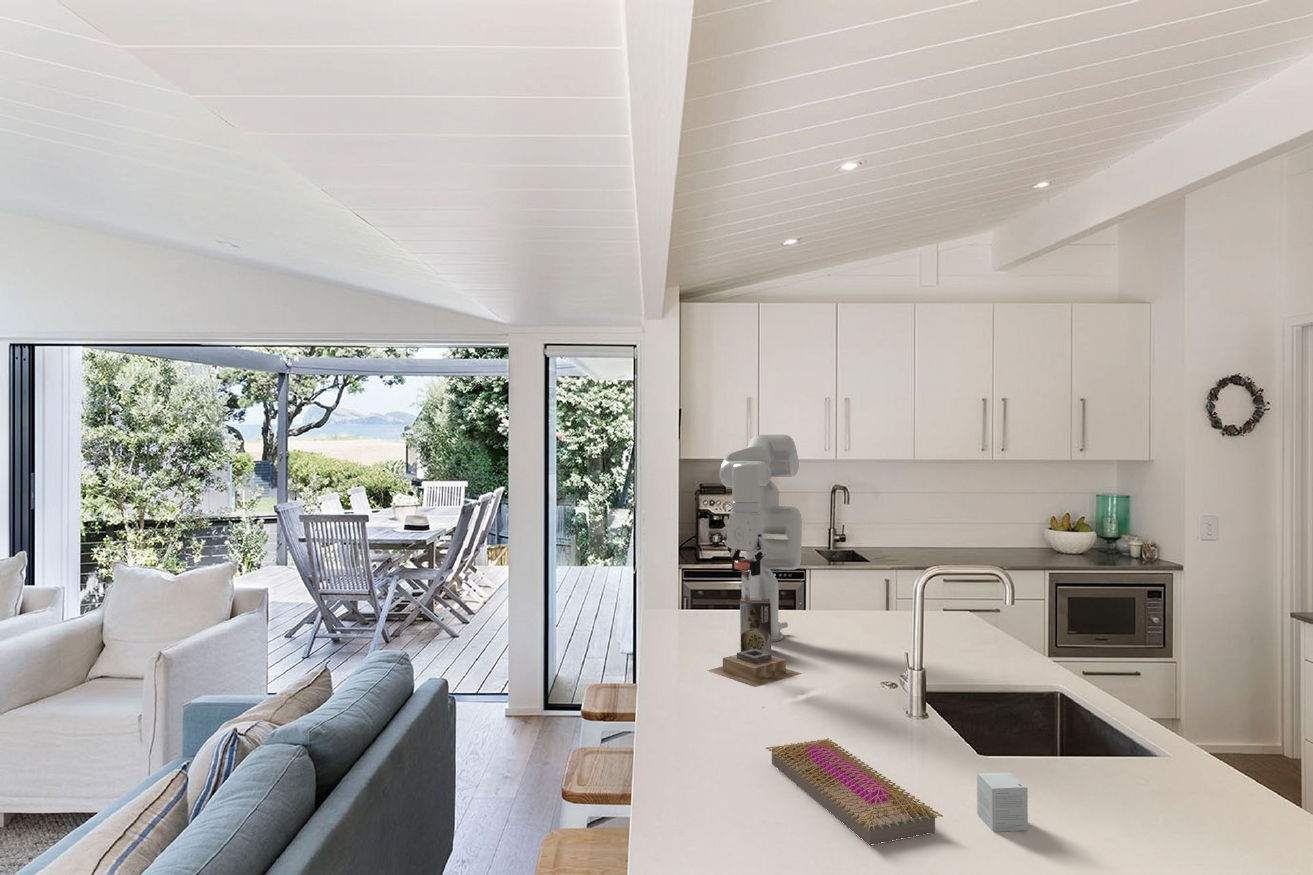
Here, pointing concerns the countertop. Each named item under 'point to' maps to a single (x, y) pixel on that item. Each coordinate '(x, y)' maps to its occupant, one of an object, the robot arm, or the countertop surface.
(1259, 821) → the countertop surface
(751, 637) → the coffee box
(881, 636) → the countertop surface
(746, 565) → the copper dome knob
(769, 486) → the robot arm
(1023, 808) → the product box
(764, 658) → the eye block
